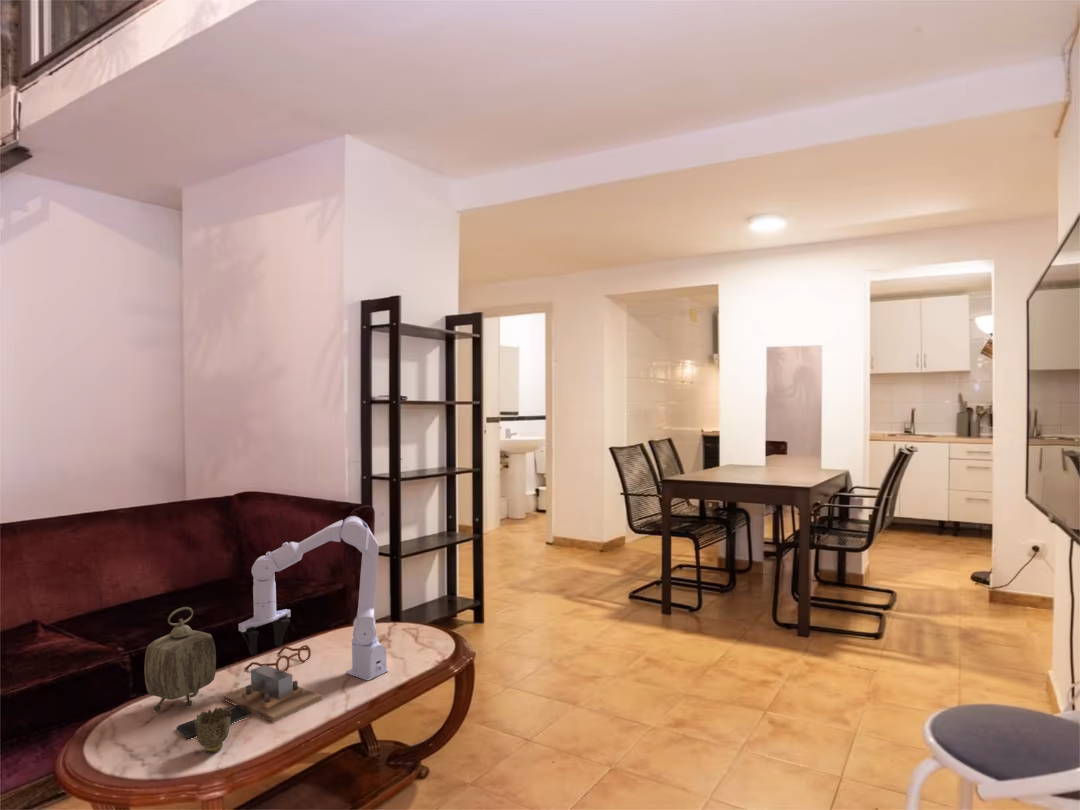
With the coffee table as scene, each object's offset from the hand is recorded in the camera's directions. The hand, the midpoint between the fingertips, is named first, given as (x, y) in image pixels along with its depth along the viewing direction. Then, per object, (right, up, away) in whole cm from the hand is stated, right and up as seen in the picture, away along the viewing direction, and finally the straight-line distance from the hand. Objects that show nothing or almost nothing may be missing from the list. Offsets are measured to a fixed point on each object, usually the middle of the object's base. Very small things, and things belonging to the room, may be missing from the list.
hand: (266, 650), depth 183 cm
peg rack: (+6, -10, -10) cm, 15 cm away
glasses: (-2, -10, +14) cm, 18 cm away
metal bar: (+5, -7, -10) cm, 13 cm away
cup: (+2, -10, -34) cm, 36 cm away
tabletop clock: (-16, -10, -12) cm, 22 cm away
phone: (-4, -10, -21) cm, 24 cm away
